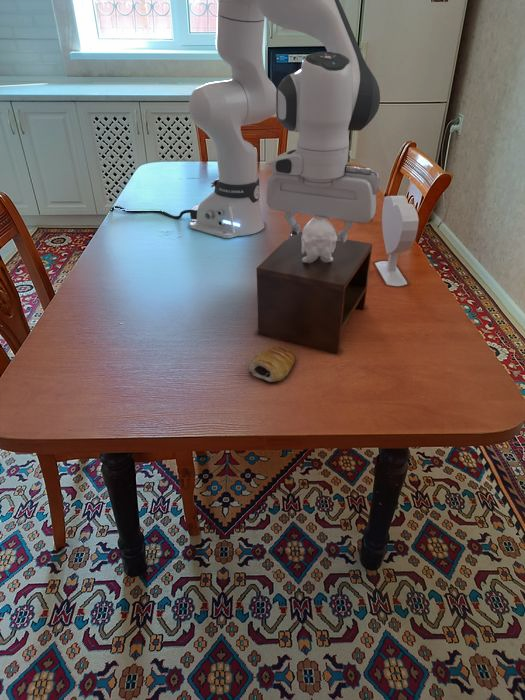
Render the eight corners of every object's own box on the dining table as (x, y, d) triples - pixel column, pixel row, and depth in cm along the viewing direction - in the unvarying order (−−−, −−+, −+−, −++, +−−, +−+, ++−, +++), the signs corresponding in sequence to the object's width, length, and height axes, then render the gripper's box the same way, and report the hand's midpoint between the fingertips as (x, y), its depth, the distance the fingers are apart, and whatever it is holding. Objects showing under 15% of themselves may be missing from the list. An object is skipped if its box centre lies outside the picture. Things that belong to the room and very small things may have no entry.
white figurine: (303, 223, 85) (297, 205, 96) (302, 269, 90) (296, 247, 100) (339, 222, 85) (329, 204, 96) (336, 268, 90) (327, 246, 100)
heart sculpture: (410, 287, 115) (424, 213, 104) (389, 288, 114) (400, 214, 104) (391, 258, 127) (402, 189, 117) (372, 259, 127) (381, 190, 116)
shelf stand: (258, 334, 100) (256, 267, 91) (293, 291, 114) (294, 230, 105) (337, 354, 94) (344, 285, 85) (364, 307, 108) (372, 243, 99)
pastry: (274, 349, 95) (275, 333, 93) (304, 361, 92) (305, 345, 90) (246, 374, 89) (245, 358, 87) (277, 388, 86) (277, 371, 84)
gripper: (385, 163, 83) (375, 239, 92) (276, 152, 91) (276, 223, 99) (376, 173, 79) (367, 252, 87) (262, 161, 86) (263, 235, 94)
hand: (317, 237), depth 93 cm, fingers open, 8 cm apart
